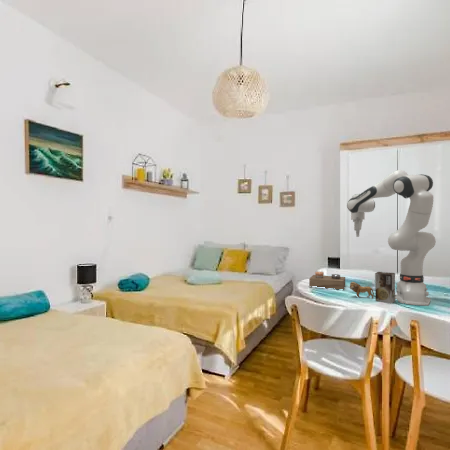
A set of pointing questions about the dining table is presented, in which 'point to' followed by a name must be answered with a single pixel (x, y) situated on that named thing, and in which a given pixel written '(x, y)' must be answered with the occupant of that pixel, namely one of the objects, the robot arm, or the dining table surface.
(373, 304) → the dining table surface
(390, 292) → the coffee box
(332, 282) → the press block
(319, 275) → the plunger terracotta
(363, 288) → the lion figurine
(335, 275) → the plunger grey
